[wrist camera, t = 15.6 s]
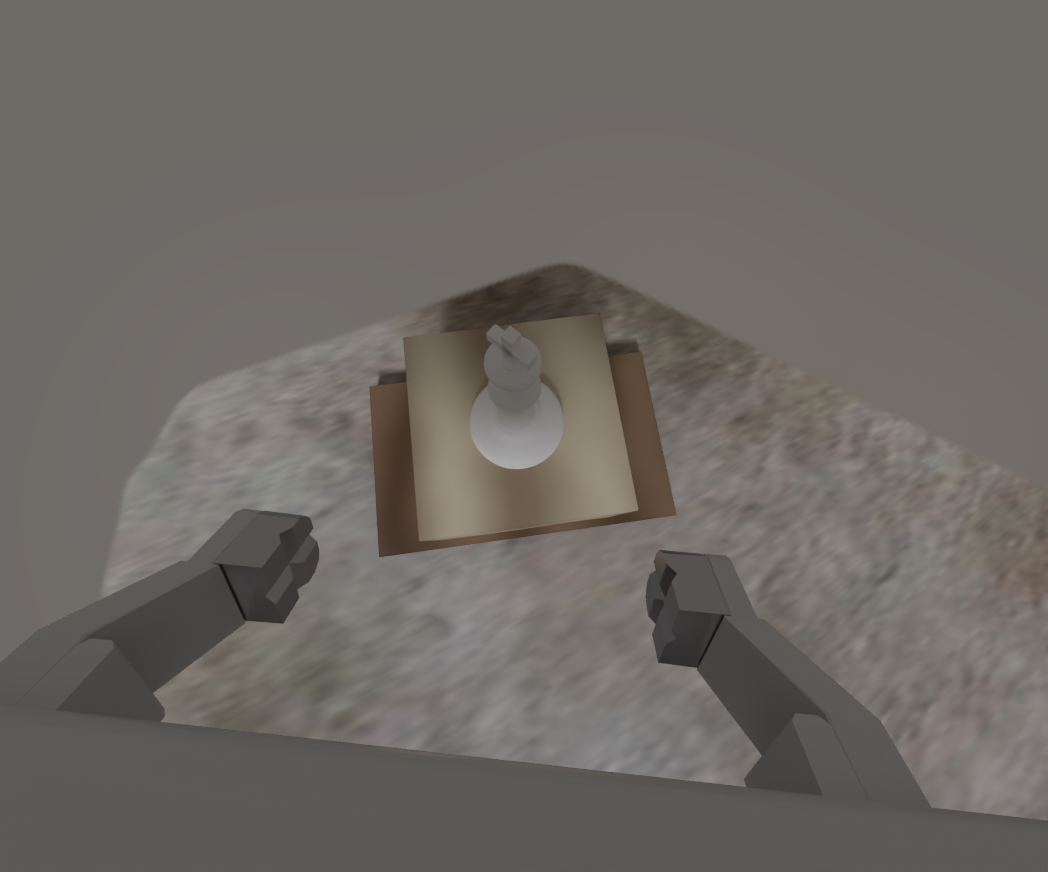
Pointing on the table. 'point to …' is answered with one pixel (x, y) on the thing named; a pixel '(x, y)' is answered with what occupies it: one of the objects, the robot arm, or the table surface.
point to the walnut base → (500, 493)
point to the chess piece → (515, 405)
